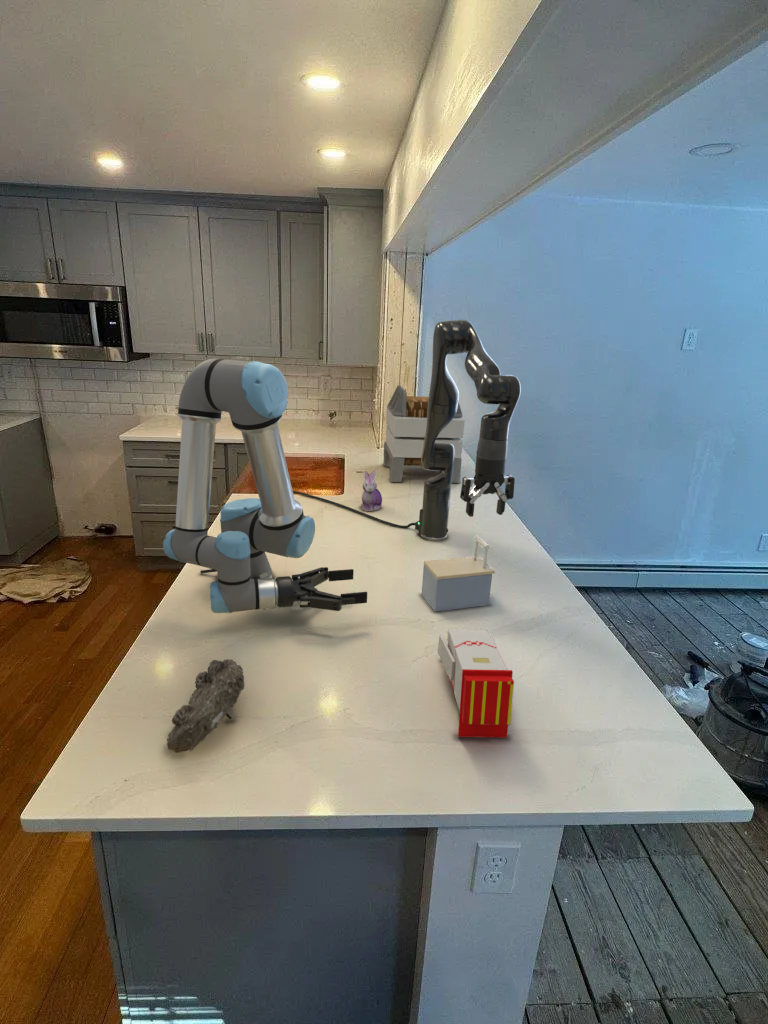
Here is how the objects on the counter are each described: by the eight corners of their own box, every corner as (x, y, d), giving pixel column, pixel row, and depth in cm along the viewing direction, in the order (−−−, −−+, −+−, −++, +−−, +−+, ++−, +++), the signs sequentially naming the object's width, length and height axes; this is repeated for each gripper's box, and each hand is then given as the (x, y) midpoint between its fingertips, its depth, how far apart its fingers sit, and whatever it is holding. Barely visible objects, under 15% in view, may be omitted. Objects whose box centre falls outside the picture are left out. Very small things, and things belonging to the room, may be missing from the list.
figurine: (366, 513, 218) (367, 475, 213) (355, 505, 226) (356, 468, 221) (387, 510, 222) (389, 473, 217) (376, 502, 231) (377, 466, 226)
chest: (473, 588, 163) (476, 559, 160) (488, 605, 154) (492, 574, 151) (421, 594, 158) (423, 564, 155) (434, 611, 149) (437, 580, 146)
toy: (488, 613, 130) (523, 677, 101) (484, 667, 133) (517, 744, 104) (435, 612, 130) (455, 676, 101) (432, 666, 133) (451, 743, 103)
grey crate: (382, 463, 289) (386, 382, 275) (445, 464, 293) (451, 384, 279) (390, 482, 257) (394, 392, 243) (460, 483, 261) (468, 394, 247)
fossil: (192, 660, 117) (244, 628, 112) (224, 691, 120) (276, 661, 115) (142, 746, 98) (202, 712, 93) (182, 779, 101) (242, 748, 96)
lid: (478, 558, 160) (481, 533, 157) (494, 573, 151) (497, 546, 148) (423, 564, 155) (425, 537, 152) (437, 579, 146) (439, 552, 144)
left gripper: (270, 584, 151) (347, 578, 157) (282, 631, 129) (372, 622, 135) (269, 558, 149) (348, 553, 155) (282, 602, 126) (374, 593, 133)
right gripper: (472, 459, 139) (466, 521, 144) (523, 457, 143) (515, 518, 148) (459, 452, 145) (454, 511, 151) (509, 450, 150) (502, 508, 155)
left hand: (359, 585), depth 145 cm, fingers open, 13 cm apart
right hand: (484, 514), depth 150 cm, fingers open, 8 cm apart
